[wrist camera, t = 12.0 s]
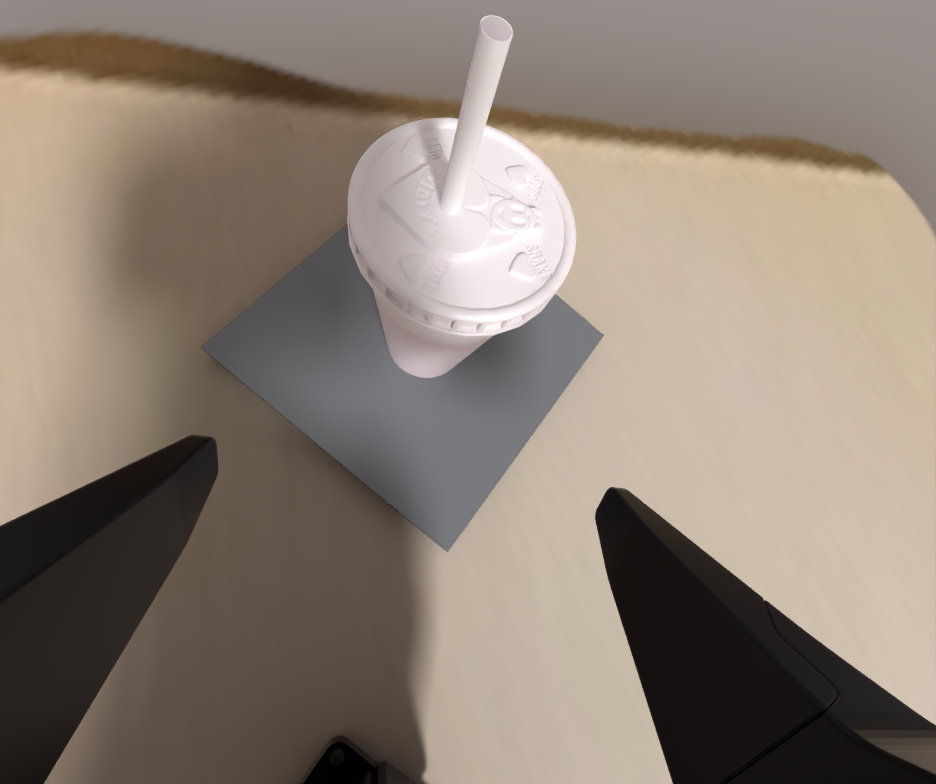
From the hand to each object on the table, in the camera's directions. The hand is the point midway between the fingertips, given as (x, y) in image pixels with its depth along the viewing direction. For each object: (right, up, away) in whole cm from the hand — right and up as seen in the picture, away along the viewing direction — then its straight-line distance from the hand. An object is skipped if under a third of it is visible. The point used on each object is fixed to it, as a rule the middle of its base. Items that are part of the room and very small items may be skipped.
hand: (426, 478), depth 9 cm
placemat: (-1, +4, +12) cm, 12 cm away
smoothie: (-1, +4, +11) cm, 12 cm away
